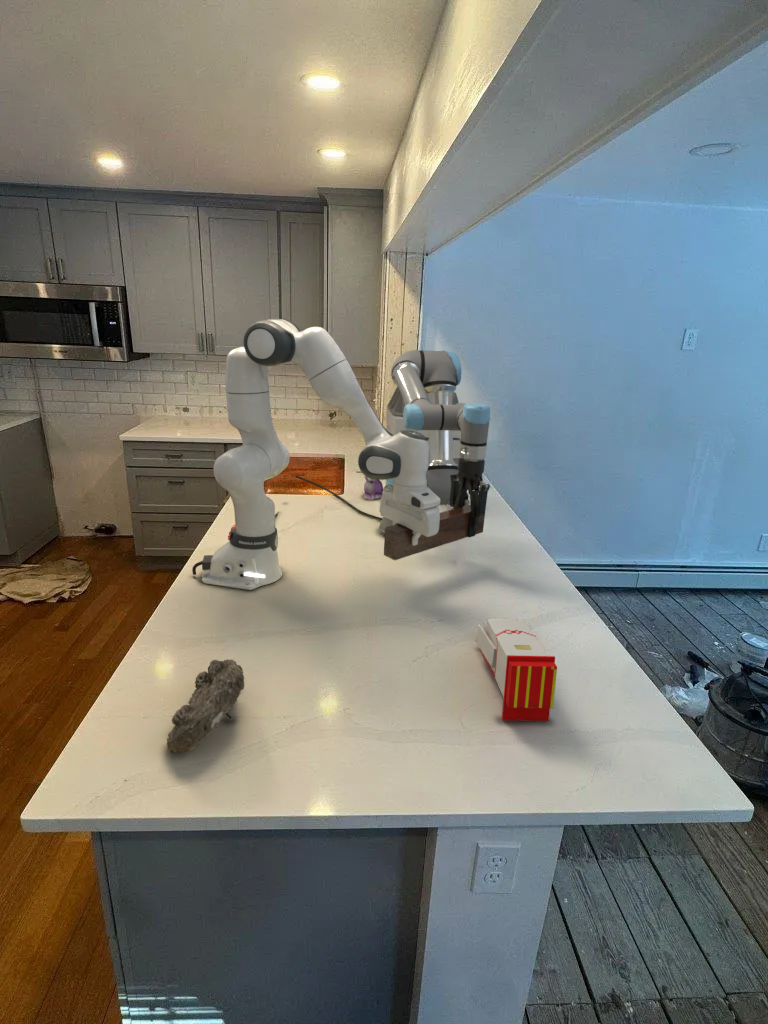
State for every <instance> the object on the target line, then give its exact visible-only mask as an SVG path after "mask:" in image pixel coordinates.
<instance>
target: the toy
mask: <svg viewBox="0 0 768 1024" xmlns="http://www.w3.org/2000/svg"><path fill="white" fill-rule="evenodd" d="M476 629H477V631H476V638H475V642H476V645H477V646H478V648H479V650H480V652H481V654H482V656H483V658H484V660H485V661H486V664H487V666H488V668H489V669H490V671H491V672H492V675H493V676H494V679H495V681H496V685H497V686H498V688H499V690H500V692H501V695H502V697H503V701H502V712H501V720H502V721H521V722H523V721H526V722H528V721H529V722H550V712H551V709H554V702H555V692H556V681H557V673H558V665H557V664H556V656H555V655H550V654H549V652H548V651H547V650H546V648H545V647H544V645H543V644H542V642H541V641H540V639H539V638H538V637H537V635H536V634H535V632H534V631H533V629H532V627H531V625H530V624H528V623H527V621H526V619H521V618H518V619H515V618H513V619H512V618H486V620H484V621H483V626H482V625H481V624H477V628H476Z"/></svg>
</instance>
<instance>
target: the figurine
mask: <svg viewBox="0 0 768 1024" xmlns="http://www.w3.org/2000/svg"><path fill="white" fill-rule="evenodd" d="M364 478H365V482H364V485H363V491H364V492H363V498H364V499H365V500H369V501H370V500H371V501H373V500H379V499H381V497H382V494H383V488H384V486H383V483H382V480H374V479H370V478H368V477H366V476H365V475H364Z"/></svg>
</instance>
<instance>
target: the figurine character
mask: <svg viewBox="0 0 768 1024" xmlns="http://www.w3.org/2000/svg"><path fill="white" fill-rule="evenodd" d="M469 498H470V495H469V493H468V492H467V493H466V496H465V500H464V503H463V506H467V505H470V499H469ZM463 506H462V507H463Z"/></svg>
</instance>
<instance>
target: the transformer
mask: <svg viewBox="0 0 768 1024" xmlns="http://www.w3.org/2000/svg"><path fill="white" fill-rule="evenodd" d="M457 403H460V402H459V398H458V395H457V392H456V391H454V392H453V393H452V405H455V404H457ZM404 407H405V402H404V400H403V397H402V395H401V392H400V389H399V387H397V386H396V388H395V390H394V392H393V394H392V395H391V398H390V400H389V402H388V404H387V405H386V413H385V414H386V415H385V423H386V427H385V428H386V430H388V431H389V432H390V433H391V434H393V435H396V434H398V433H399V432H400V431H402V430H408V429H406V428H405V427H404V424H403V410H404ZM411 431H415V432H418V433H421V434H422V435H424V436H425V437H426V438H427V440H428V430H419V431H416V430H411ZM460 440H461V431H455V430H453V461H454V462H455V463H456V464H457V465H458V461H459V458H460V456H459V451H460ZM428 443H429V441H428ZM458 471H459V470H458Z"/></svg>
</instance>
